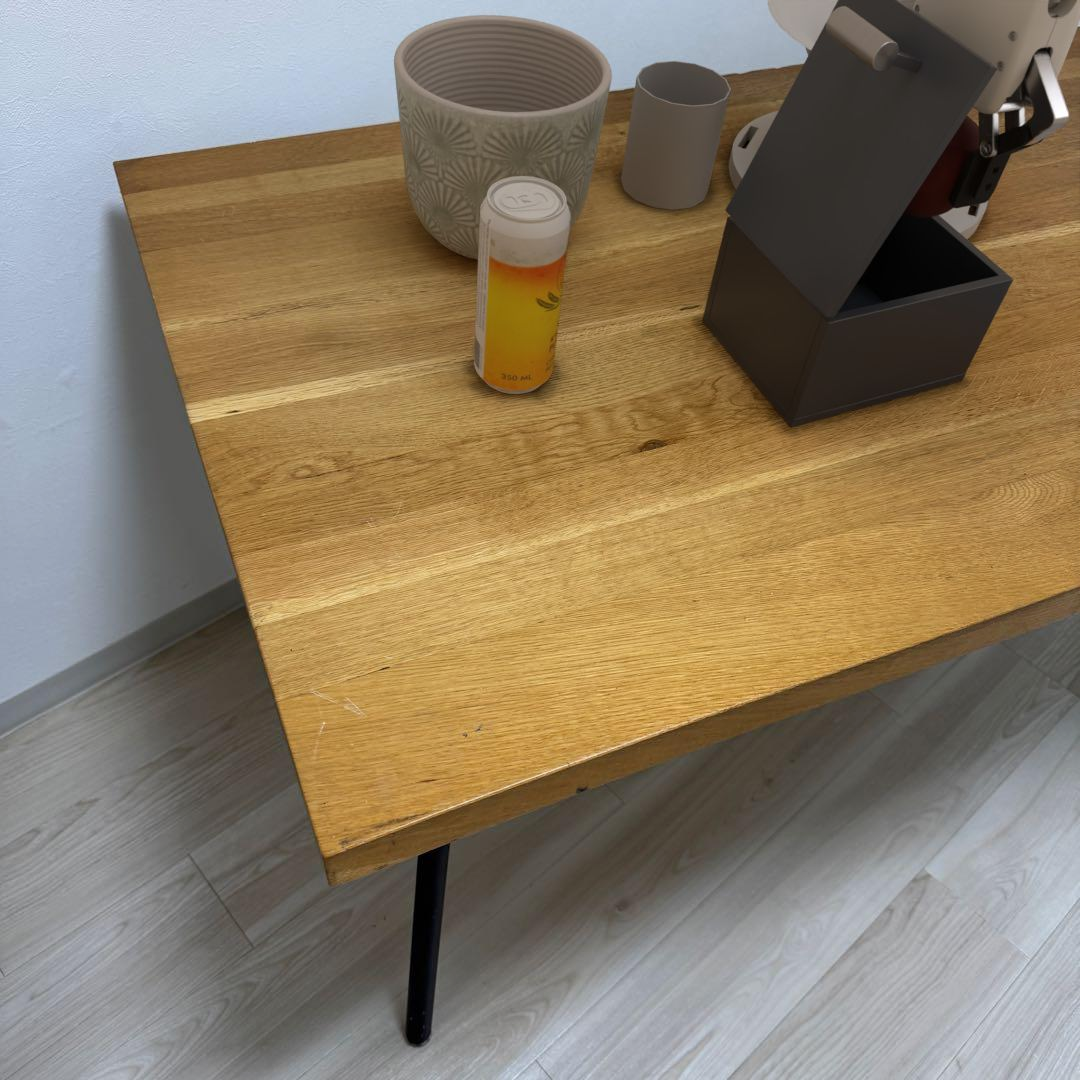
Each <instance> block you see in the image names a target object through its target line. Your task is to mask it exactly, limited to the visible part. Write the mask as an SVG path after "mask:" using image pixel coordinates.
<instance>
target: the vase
mask: <svg viewBox="0 0 1080 1080" xmlns="http://www.w3.org/2000/svg"><path fill="white" fill-rule="evenodd" d="M837 1H838V0H767V8H768V11H769V13H770V15H771V17H772V18H773V20H774V22H775V23H776V24H777V26H778V27H779V28H780V29H781V30H783V32H784V33H785V34H787V35H788V36H789V37H791V38H792V39H793V40H794V41H795V42H797V43H798V44H800V45H801V46H803V47H804V48H805V51H806V54H807V56H808V55H809V53H810V52H811V50H812V48H813V46H814V44H815V42H816V40H817V39H818V37H819V35H820V33H821V31H822V29H823V27H824V26H825V24H826V22H827V20H828V18H829V16H830V14H831V12H832V11H833V9H834V7H835V5H836V3H837ZM778 111H779V110H775V111H772V112H769V113H767V114H763V115H760V116H759V117H757V118H755V119H753V120H752V121H750V122H749V123H747V124H746V125H744V126H743V128H742V129H741V130H739V132H738V133H737V135H736V136H735V138H734V141H733V144H732V148H731V152H730V156H729V161H728V174H729V178H730V181H731V183H732V186H733V188H734V189H735V190H736V189H737V188H738V186H739V184H740V182H741V180H742V178H743V176H744V174H745V173H746V171H747V169H748V167H749V165H750V163H751V161H752V160H753V158H754V156H755V154H756V152H757V150H758V148H759V147H760V145H761V143H762V141H763V139H764V137H765V135H766V134H767V132H768V130H769V128H770V126H771V124H772V122H773V120H774V119H775V117H776V115H777V113H778ZM747 141H749V143H748V144H747V146H746V147H745V148H743V147H744V146H745V145H746V143H747ZM988 204H989V200H988V201H987V202H985V203H981V204H976V205H971V206H966V207H961V208H953V209H951V210H950V211H948V212H946V213H944V214H941V215H939V216H940V217H942V218H943V219H944V220H945V221H946V222H947V223H949V224H950V225H951V226H952V227H953V228H954V229H956V230H957V231H958V232H959V233H960V234H961V235H963V236H964V237H965V238H966V239H967V240H969V238H971V236H972V235H974V233H975V232H976V230H977V229H978V227H979V225H980V223H981V221H982V219H983V217H984V215H985V213H986V210H987V207H988ZM971 207H975V212H974V215H971V214H969V211H970V208H971Z"/></svg>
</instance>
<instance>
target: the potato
mask: <svg viewBox="0 0 1080 1080" xmlns="http://www.w3.org/2000/svg"><path fill="white" fill-rule="evenodd" d="M977 149H979V124H977V122H976V121H974V120H973V119H972V118H971V117H970V116H969V115H967V116H966V118H965V119H964V121H963V122H962V124H961V125H960V127H959V129H958V130H957V132H956V133H955V135H954V136H953V138H952V139H951V141H950V142H949V144H948V145H947V147H946V148H945V150H944V151H943V153H942V154H941V156H940V157H939V159H938V160H937V162H936V164H935V165H934V167H933V168H932V170H931V171H930V173H929V174H928V176H927V177H926V179H925V180H924V182H923V183H922V185H921V186H920V188H919V189H918V191H917V192H916V194H915V195H914V197H913V199H912V200H911V202H910V203H909V205H908V206H907V208H906V209H905V211H904V212H906V213H907V214H910V215H913V216H916V217H934V216H938V215H941V214H944V213H946V212H948V211H950V210H951V209H953V208H954V207H953V206H952V205H950V203H949V198H950V196H951V193H952V191H953V189H954V186H955V184H956V182H957V179H958V177H959V174H960V172H961V170H962V167H963V165H964V163H965V160H966V158H967V155H968V154H969V152H970V151H972V150H977Z"/></svg>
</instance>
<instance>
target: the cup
mask: <svg viewBox="0 0 1080 1080" xmlns="http://www.w3.org/2000/svg"><path fill="white" fill-rule="evenodd" d="M633 90H634V91H633V96H632V104H631V111H630V117H629V123H628V130H627V137H626V142H625V143H626V144H625V149H624V157H623V162H622V168H621V169H622V170H621V176H620V181H621V182H620V183H621V185H622V188H623V191H624V192H625V193H626V194H627V195H629V196H630V197H631V198H632V199H633V200H635V201H636V202H639V203H641V204H643V205H646V206H649V207H651V208H656V209H662V210H670V211H675V210H683V209H691V208H693V207H695V206H697V205H699V204H701V203H702V202H704V201H705V199H706V197H707V195H708V193H709V189H710V186H711V185H710V184H711V179H712V175H713V172H714V166H715V162H716V158H717V153H718V148H719V144H720V140H721V135H722V131H723V127H724V123H725V118H726V113H727V108H728V105H729V100H730V95H731V91H732V88H731V86H730V84H729V82H728V80H727V78H725V77H724V76H722V75H721V74H719V72H717V71H716V70H714V69H712V68H710V67H709V68H708V67H706V66H702V65H700V64H697V63H695V62H694V63H693V62H686V61H678V60H669V61H658V62H657V61H656V62H653V63H651V64H648V65H647V66H644V67H642V68H641V69H640V71H639V72H638V74H637V75H636V77H635V85H634V89H633Z"/></svg>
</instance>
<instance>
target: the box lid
mask: <svg viewBox="0 0 1080 1080" xmlns="http://www.w3.org/2000/svg"><path fill="white" fill-rule="evenodd" d="M800 68H801V69H800V70H799V73H798V74H797V76H796V78H795V80H794V81H793V84H792V85H791V87H790V89H789V90H788V93H787V95H786V96H785V98H784V100H783V102H782V104H781V106H780V108H779V109H778V110H777V111H778V113H777V115H776V117H775V119H774V120H773V122H772V124H771V126H770V128H769V130H768V132H767V134H766V135H765V137H764V139H763V141H762V143H761V145H760V147H759V148H758V150H757V152H756V154H755V156H754V158H753V160H752V161H751V163H750V165H749V167H748V169H747V171H746V173H745V174H744V176H743V178H742V180H741V182H740V184H739V186H738V188H737V189H735V191H734V193H733V195H732V197H731V199H730V200H729V202H728V205H727V206H726V207H725V212H726V213H727V214H728V215H729V216H731V217H732V218H733V219H734V220H735V221H736V222H737V223H738V224H739V225H740V226H741V227H742V228H743V229H744V231H745V232H746V233H747V234H748V235H749V236H750V237H751V238H752V239H753V240H754V241H755V242H756V243H757V244H758V245H759V246H760V247H761V248H762V249H763V251H764V252H765V253H766V254H767V255H768V256H769V257H770V258H771V259H772V260H773V261H774V262H775V263H776V264H777V265H778V266H779V267H780V268H781V269H782V270H783V272H784V273H785V274H786V275H787V276H788V277H789V278H790V279H791V280H792V281H793V282H794V283H795V284H796V285H797V286H798V287H799V288H800V289H801V290H802V292H803V293H804V294H805V295H806V296H807V297H808V298H809V299H810V300H811V301H812V302H813V303H814V304H815V305H816V306H817V307H818V308H819V309H820V310H821V312H822V313H823V314H824V315H825V316H826V317H832V318H834V317H835V316H836V314H837V313H838V311H839V310H840V308H841V307H842V305H843V303H844V302H845V300H846V299H847V297H848V296H849V294H850V293H851V291H852V290H853V288H854V287H855V285H856V284H857V282H858V281H859V279H860V278H861V276H862V275H863V273H864V272H865V270H866V268H867V267H868V265H869V264H870V262H871V261H872V259H873V258H874V256H875V255H876V253H877V252H878V250H879V249H880V247H881V246H882V244H883V243H884V241H885V240H886V238H887V237H888V235H889V233H890V232H891V230H892V229H893V227H894V226H895V224H896V223H897V221H898V220H899V218H900V217H901V215H902V214H903V212H904V211H905V209H906V208H907V206H908V205H909V203H910V202H911V200H912V199H913V197H914V195H915V194H916V192H917V191H918V189H919V188H920V186H921V185H922V183H923V182H924V180H925V179H926V177H927V176H928V174H929V173H930V171H931V170H932V168H933V167H934V165H935V164H936V162H937V160H938V159H939V157H940V156H941V154H942V153H943V151H944V150H945V148H946V147H947V145H948V144H949V142H950V141H951V139H952V138H953V136H954V135H955V133H956V132H957V130H958V129H959V127H960V125H961V124H962V122H963V121H964V119H965V118H966V116H969V114H970V113H971V110H972V109H973V106H974V104H975V103H976V101H977V100H978V98H979V97H980V95H981V94H982V92H983V90H984V89H985V87H986V86H987V84H988V83H989V81H990V80H991V78H992V77H993V75H994V74H995V72H996V71H997V67H996V66H994V65H993V64H991V63H990V62H988V61H987V60H985V59H984V58H982V57H981V56H980V55H978V54H977V53H975V52H974V51H972V50H971V49H969V48H968V47H967V46H965V45H964V44H962V43H961V42H959V41H958V40H956V39H955V38H954V37H952V36H951V35H949V34H948V33H946V32H945V31H943V30H942V29H940V28H939V27H938V26H936V25H935V24H933V23H932V22H930V21H929V20H927V19H926V18H925V17H923V16H922V15H920V14H919V13H917V12H916V11H914V10H913V9H912V8H910V7H909V6H907V5H906V4H904V3H903V2H901V1H900V0H838V1H837V3H836V5H835V7H834V9H833V11H832V12H831V14H830V16H829V18H828V20H827V22H826V24H825V26H824V27H823V29H822V31H821V33H820V35H819V37H818V39H817V40H816V42H815V44H814V46H813V48H812V50H811V52H810V53H809V55H808V54H807V57H806V59H805V61H804V62H803V65H802V67H800Z"/></svg>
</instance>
